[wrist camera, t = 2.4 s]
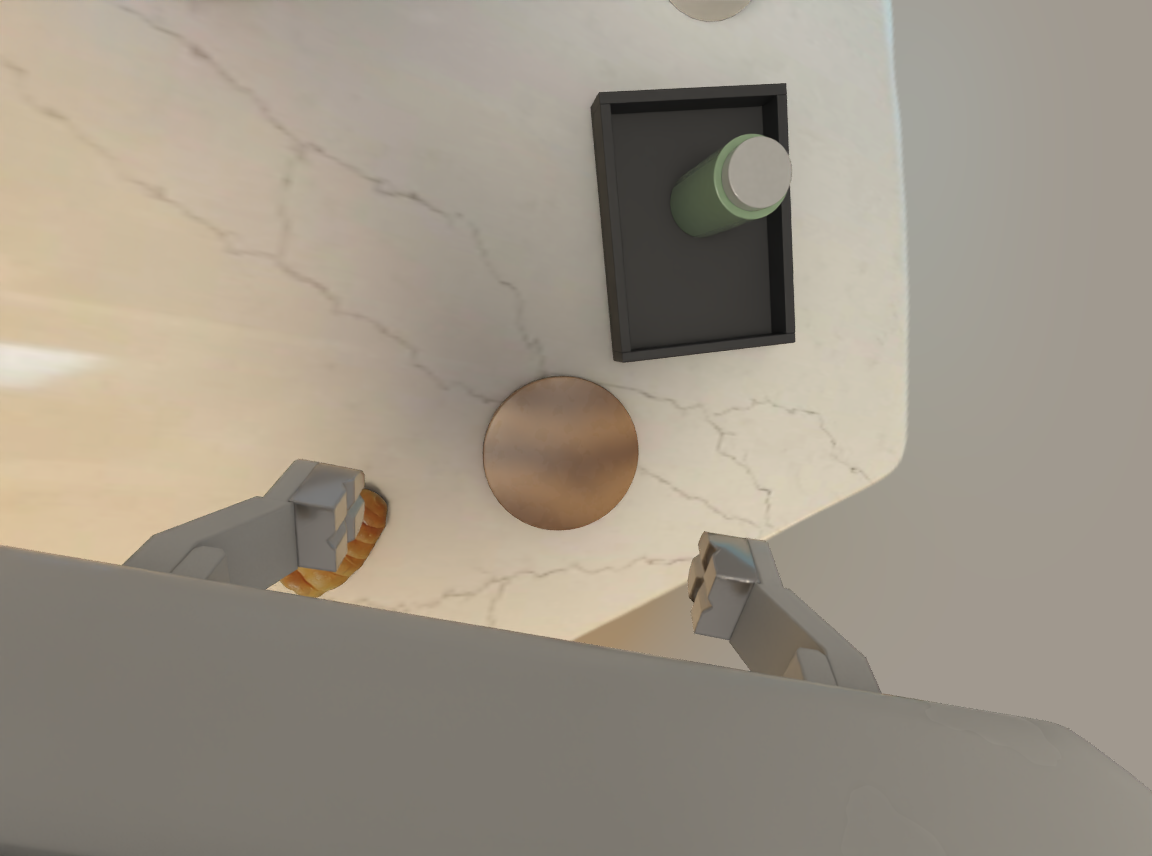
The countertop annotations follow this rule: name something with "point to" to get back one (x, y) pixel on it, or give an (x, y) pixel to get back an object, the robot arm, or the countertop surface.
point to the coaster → (560, 453)
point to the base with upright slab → (710, 8)
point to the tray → (665, 252)
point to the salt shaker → (732, 186)
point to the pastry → (357, 552)
